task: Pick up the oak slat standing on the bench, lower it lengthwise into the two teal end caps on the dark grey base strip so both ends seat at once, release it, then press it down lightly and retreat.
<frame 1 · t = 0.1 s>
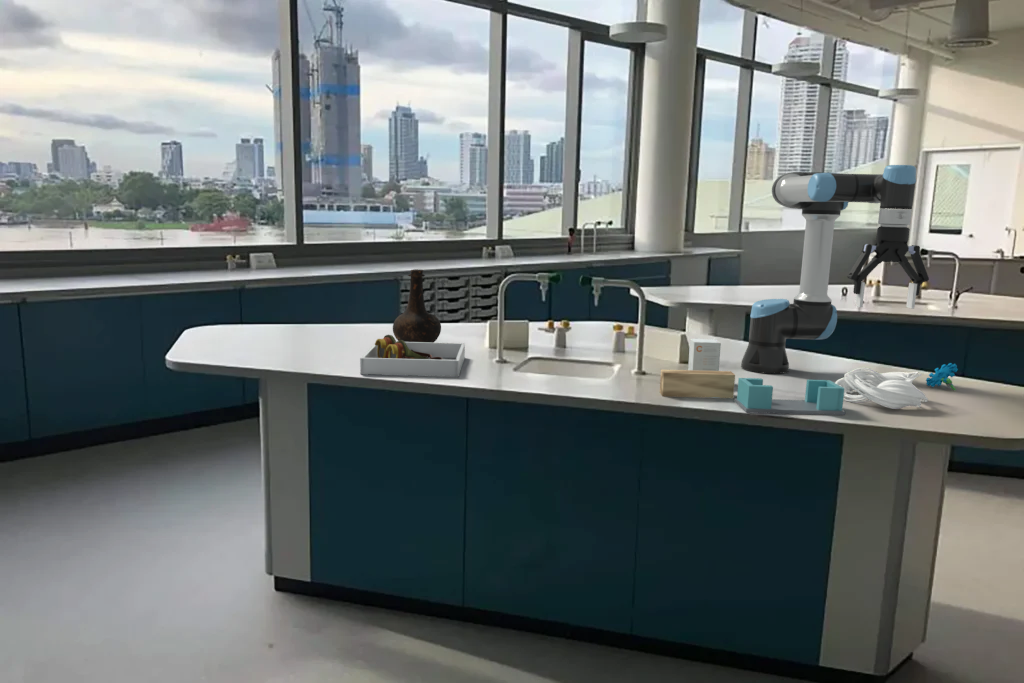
hand: (884, 307, 200), 28 cm above the countertop, tool pointing down, fingers open, 13 cm apart
glass bottle: (416, 345, 279), on the countertop
blue toy flower: (940, 388, 233), on the countertop
small box: (702, 382, 232), on the countertop
multicoloured curved piece: (415, 367, 245), resting in goggles tray
coil: (877, 403, 214), on the countertop
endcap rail: (787, 408, 204), on the countertop
goggles tray: (415, 365, 245), on the countertop
slat: (695, 396, 216), on the countertop
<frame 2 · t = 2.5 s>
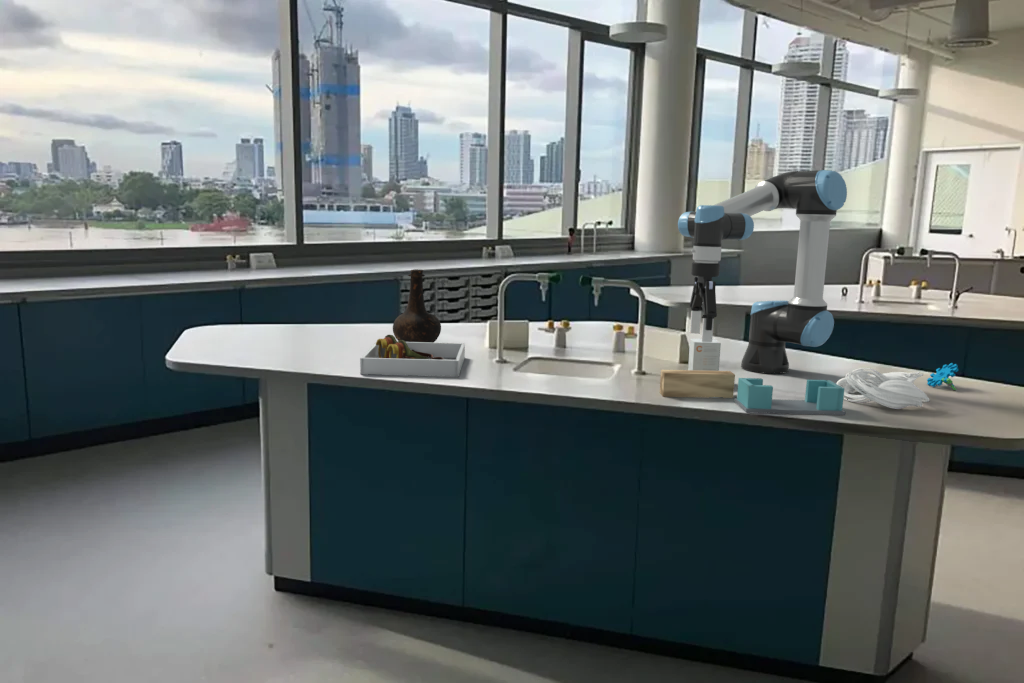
hand: (700, 337, 212), 17 cm above the countertop, tool pointing down, fingers open, 13 cm apart
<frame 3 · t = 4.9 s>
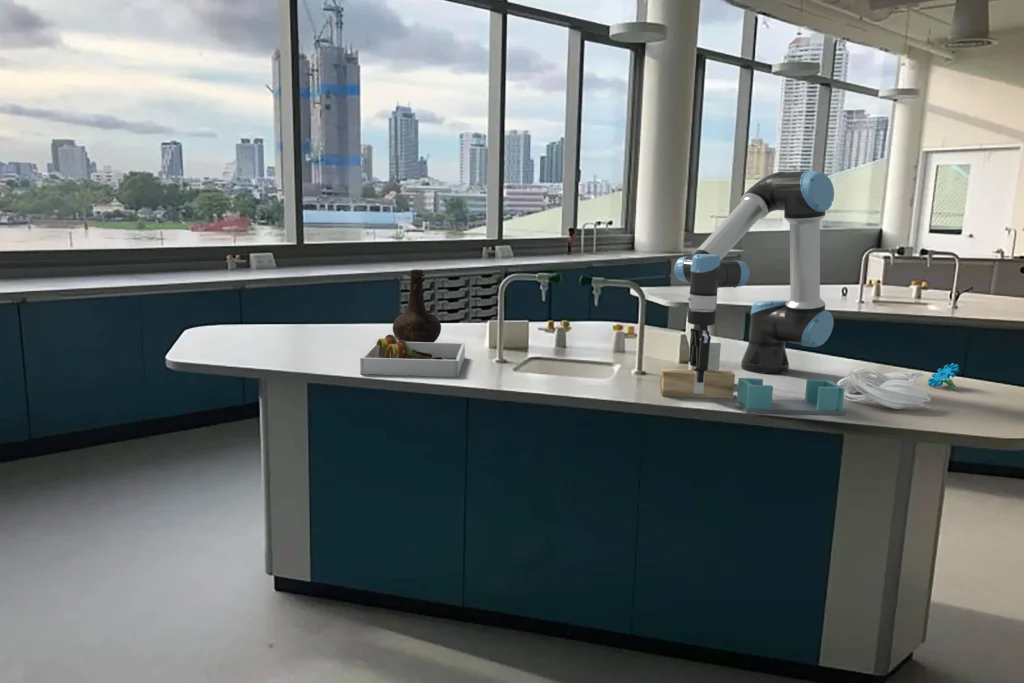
hand: (696, 390, 215), 1 cm above the countertop, tool pointing down, fingers closed on slat, 4 cm apart
slat: (695, 395, 215), on the countertop, touching gripper
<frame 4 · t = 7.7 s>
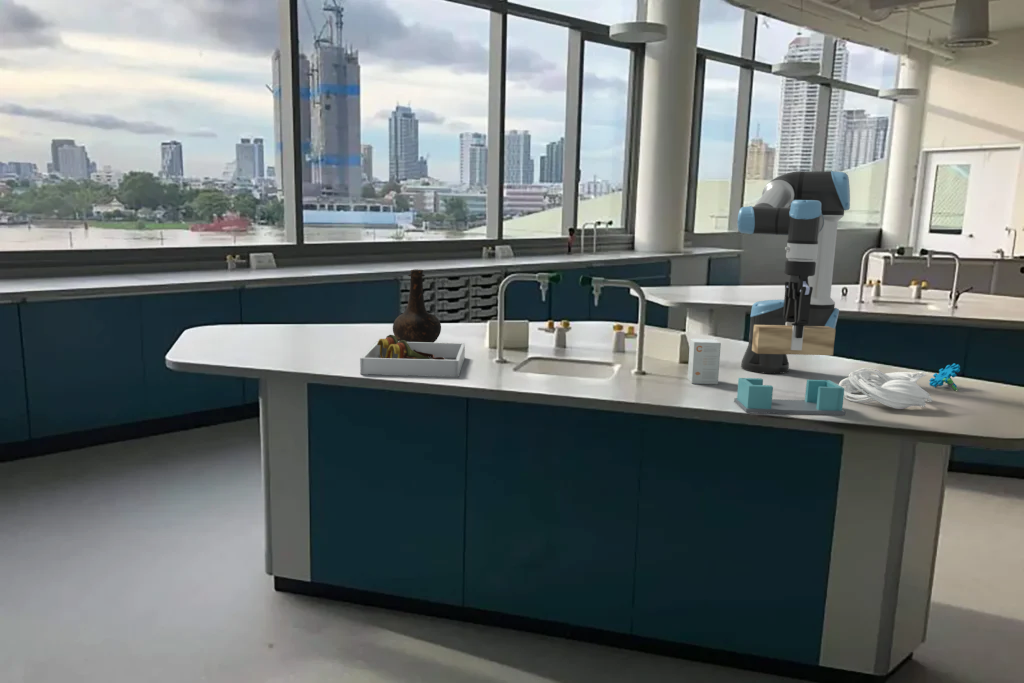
hand: (792, 347, 201), 17 cm above the countertop, tool pointing down, fingers closed on slat, 4 cm apart
slat: (791, 352, 201), point 15 cm above the countertop, touching gripper
when the fingers open (4 cm above the countertop, at t = 10.5 s): slat drops 1 cm, resting on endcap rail.
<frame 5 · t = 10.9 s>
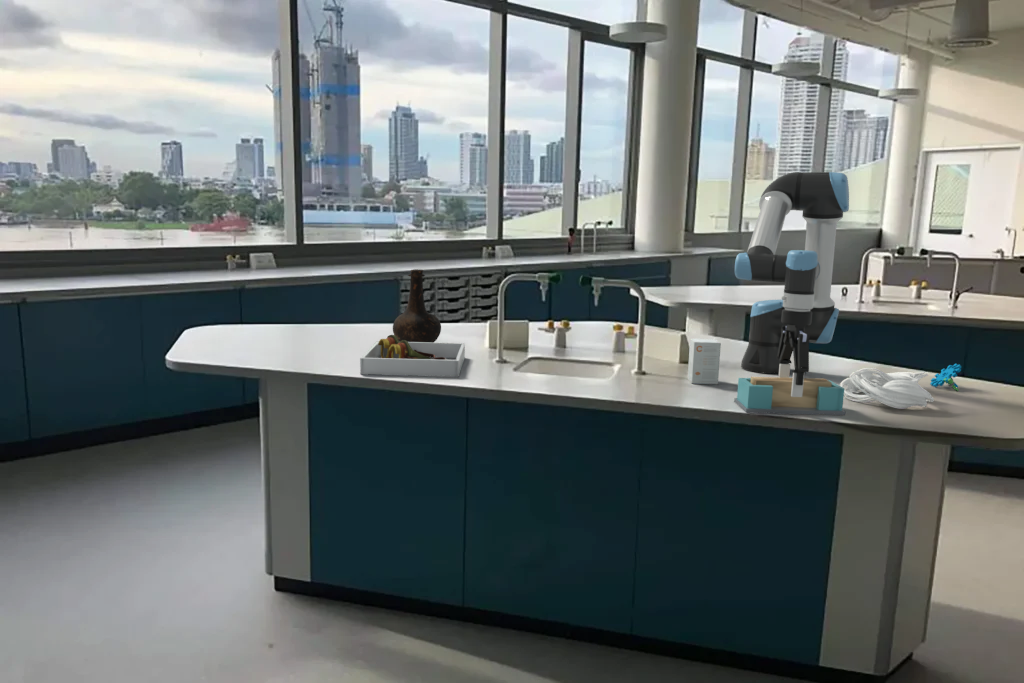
hand: (789, 391, 203), 5 cm above the countertop, tool pointing down, fingers open, 9 cm apart
slat: (788, 404, 203), point 1 cm above the countertop, touching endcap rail
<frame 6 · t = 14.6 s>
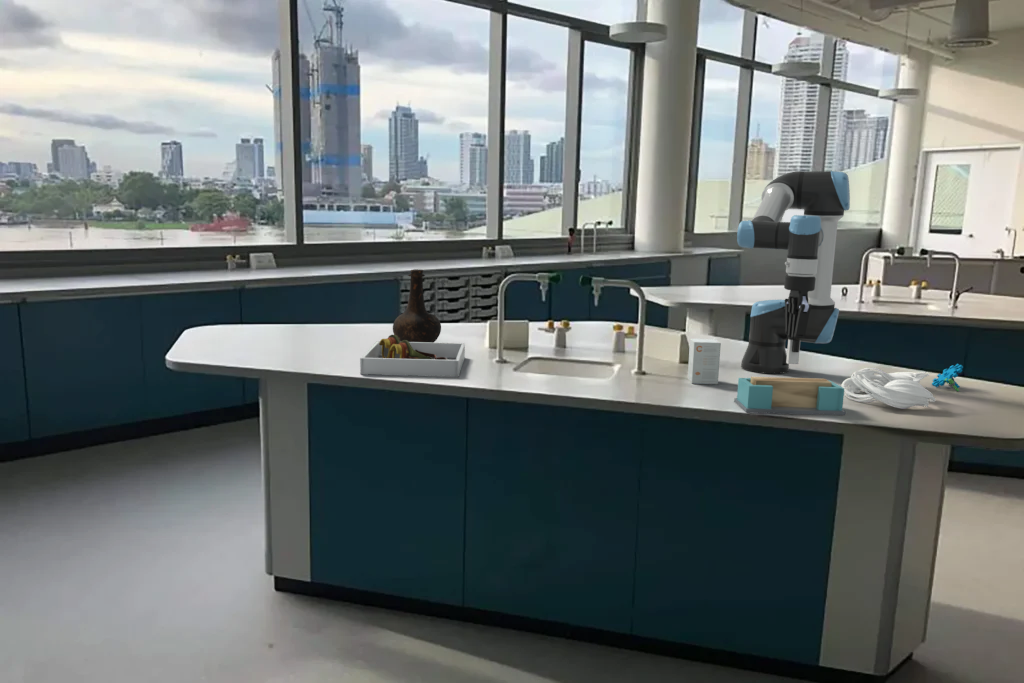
hand: (792, 363, 201), 12 cm above the countertop, tool pointing down, fingers closed
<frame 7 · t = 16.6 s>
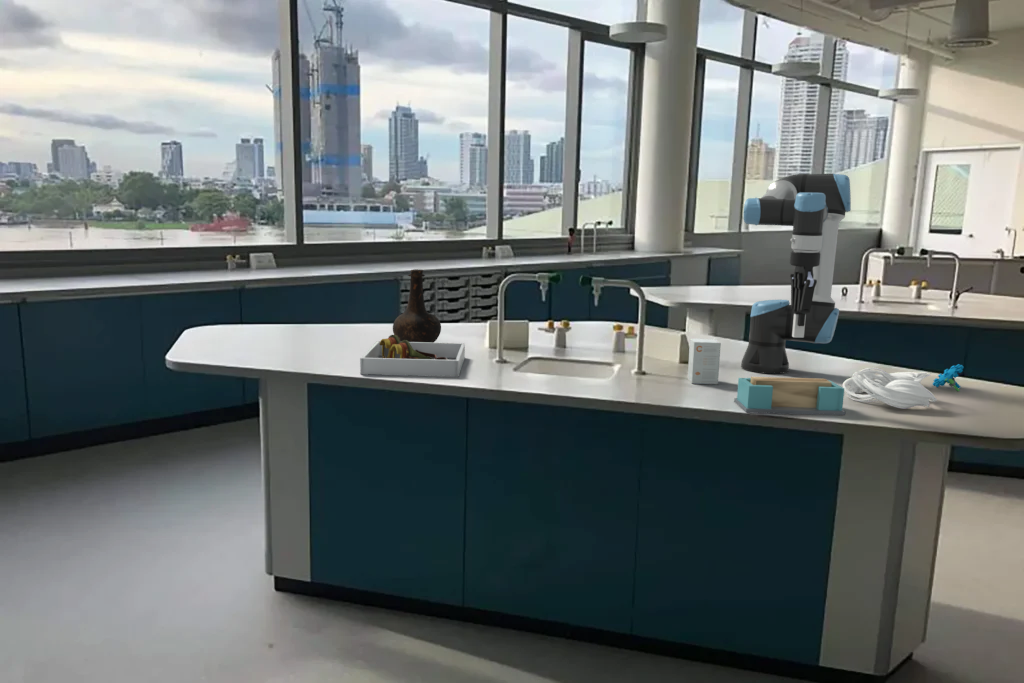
hand: (797, 336, 208), 18 cm above the countertop, tool pointing down, fingers closed
multicoloured curved piece: (419, 367, 245), resting in goggles tray
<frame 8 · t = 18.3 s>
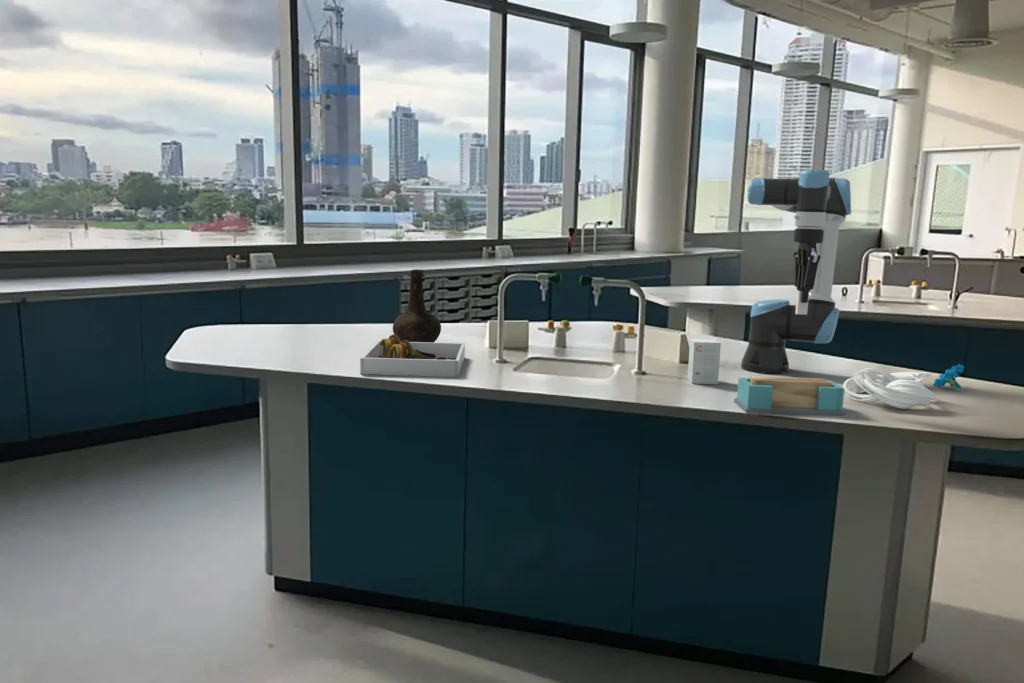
hand: (801, 313, 209), 24 cm above the countertop, tool pointing down, fingers closed
multicoloured curved piece: (420, 367, 245), resting in goggles tray
at the end: slat 0.2 cm off-centre on the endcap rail, point 1.0 cm above the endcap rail's base; slat tilted 0°; the gripper is holding nothing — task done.
